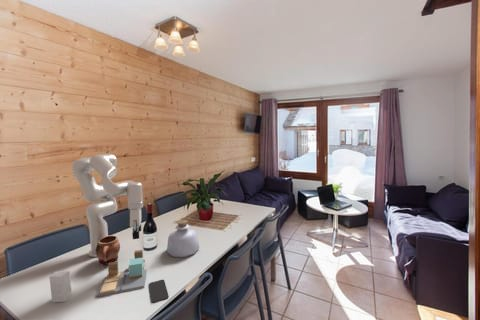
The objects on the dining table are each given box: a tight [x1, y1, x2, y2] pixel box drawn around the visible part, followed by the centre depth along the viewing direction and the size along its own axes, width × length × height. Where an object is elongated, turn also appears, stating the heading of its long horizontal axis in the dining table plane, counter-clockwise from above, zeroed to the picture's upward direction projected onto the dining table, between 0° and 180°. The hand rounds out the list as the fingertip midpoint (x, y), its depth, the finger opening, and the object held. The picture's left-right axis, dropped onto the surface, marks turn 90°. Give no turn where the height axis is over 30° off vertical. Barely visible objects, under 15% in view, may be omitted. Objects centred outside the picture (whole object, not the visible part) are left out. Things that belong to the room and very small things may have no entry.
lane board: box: [96, 269, 148, 297], centre depth 113 cm, size 14×20×2 cm
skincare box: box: [48, 270, 73, 303], centre depth 102 cm, size 6×4×12 cm
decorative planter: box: [96, 234, 121, 266], centre depth 131 cm, size 20×12×14 cm, turn 25°
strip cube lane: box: [129, 249, 146, 278], centre depth 123 cm, size 15×6×7 cm, turn 18°
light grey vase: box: [166, 219, 200, 258], centre depth 145 cm, size 20×20×19 cm
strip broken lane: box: [104, 260, 122, 284], centre depth 114 cm, size 7×6×7 cm
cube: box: [128, 257, 144, 277], centre depth 118 cm, size 6×6×6 cm
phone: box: [148, 279, 170, 304], centre depth 107 cm, size 7×1×15 cm
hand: (137, 234), depth 127 cm, fingers open, 9 cm apart
